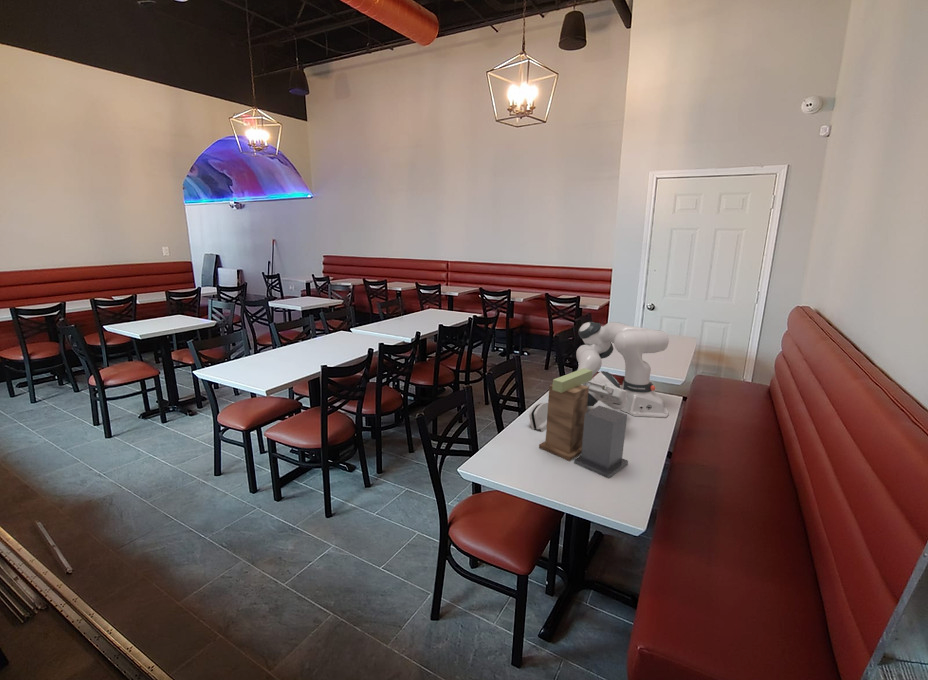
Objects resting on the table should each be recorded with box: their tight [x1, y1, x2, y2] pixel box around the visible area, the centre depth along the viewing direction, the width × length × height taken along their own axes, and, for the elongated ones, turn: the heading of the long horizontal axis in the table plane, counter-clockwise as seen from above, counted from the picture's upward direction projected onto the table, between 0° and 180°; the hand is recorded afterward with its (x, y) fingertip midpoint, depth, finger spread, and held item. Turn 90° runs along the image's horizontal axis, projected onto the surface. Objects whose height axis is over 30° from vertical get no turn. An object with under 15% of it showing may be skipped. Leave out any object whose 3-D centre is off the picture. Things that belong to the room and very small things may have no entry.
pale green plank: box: [552, 368, 593, 393], centre depth 171 cm, size 21×4×4 cm, turn 134°
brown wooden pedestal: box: [538, 383, 589, 462], centre depth 173 cm, size 14×14×26 cm
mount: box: [573, 405, 629, 479], centre depth 162 cm, size 14×14×20 cm
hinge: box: [528, 402, 548, 433], centre depth 197 cm, size 17×5×10 cm, turn 145°
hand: (593, 384), depth 183 cm, fingers open, 8 cm apart
